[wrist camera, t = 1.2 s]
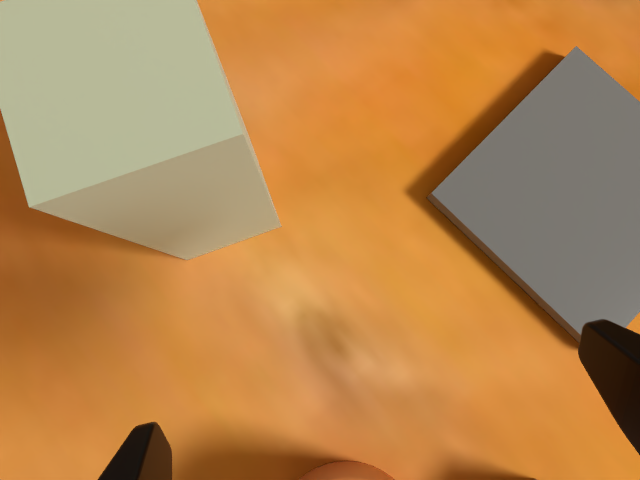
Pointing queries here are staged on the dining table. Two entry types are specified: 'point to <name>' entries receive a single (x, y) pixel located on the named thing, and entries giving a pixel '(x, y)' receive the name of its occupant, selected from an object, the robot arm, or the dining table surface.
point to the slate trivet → (559, 196)
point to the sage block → (129, 123)
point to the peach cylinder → (346, 472)
